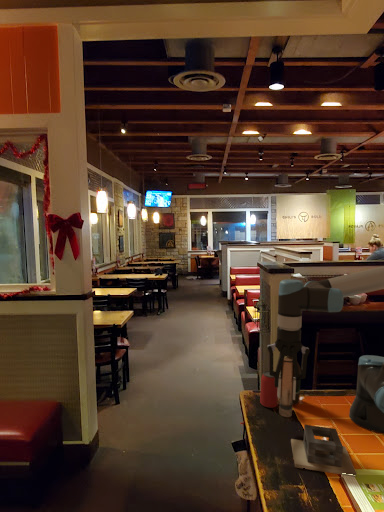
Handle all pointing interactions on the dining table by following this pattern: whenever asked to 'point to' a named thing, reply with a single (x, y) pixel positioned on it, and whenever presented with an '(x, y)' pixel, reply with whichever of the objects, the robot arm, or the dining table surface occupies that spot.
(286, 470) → the dining table surface
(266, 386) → the beer can
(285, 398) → the copper tube
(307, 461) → the collar stand
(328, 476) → the dining table surface
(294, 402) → the beer bottle
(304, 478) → the dining table surface
